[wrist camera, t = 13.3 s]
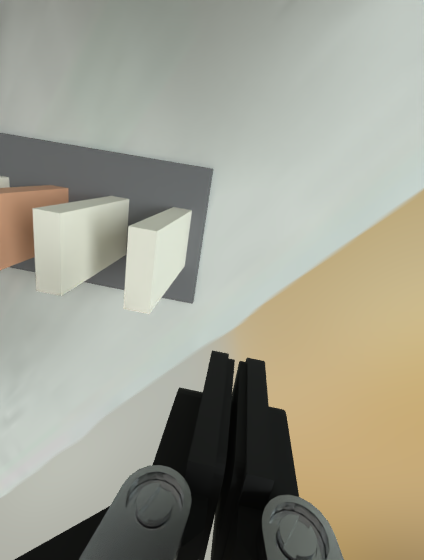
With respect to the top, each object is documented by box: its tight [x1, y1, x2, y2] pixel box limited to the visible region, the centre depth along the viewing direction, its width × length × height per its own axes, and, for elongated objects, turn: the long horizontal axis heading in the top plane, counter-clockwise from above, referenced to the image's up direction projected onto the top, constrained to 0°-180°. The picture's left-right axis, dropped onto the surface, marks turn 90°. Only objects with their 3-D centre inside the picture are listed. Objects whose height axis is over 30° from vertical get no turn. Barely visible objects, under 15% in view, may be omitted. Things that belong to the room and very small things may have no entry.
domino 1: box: [33, 196, 129, 296], centre depth 22 cm, size 2×5×10 cm, turn 171°
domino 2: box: [123, 207, 192, 314], centre depth 22 cm, size 2×5×10 cm, turn 171°
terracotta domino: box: [0, 185, 69, 270], centre depth 23 cm, size 2×5×10 cm, turn 171°
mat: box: [0, 133, 213, 303], centre depth 28 cm, size 30×12×1 cm, turn 81°
